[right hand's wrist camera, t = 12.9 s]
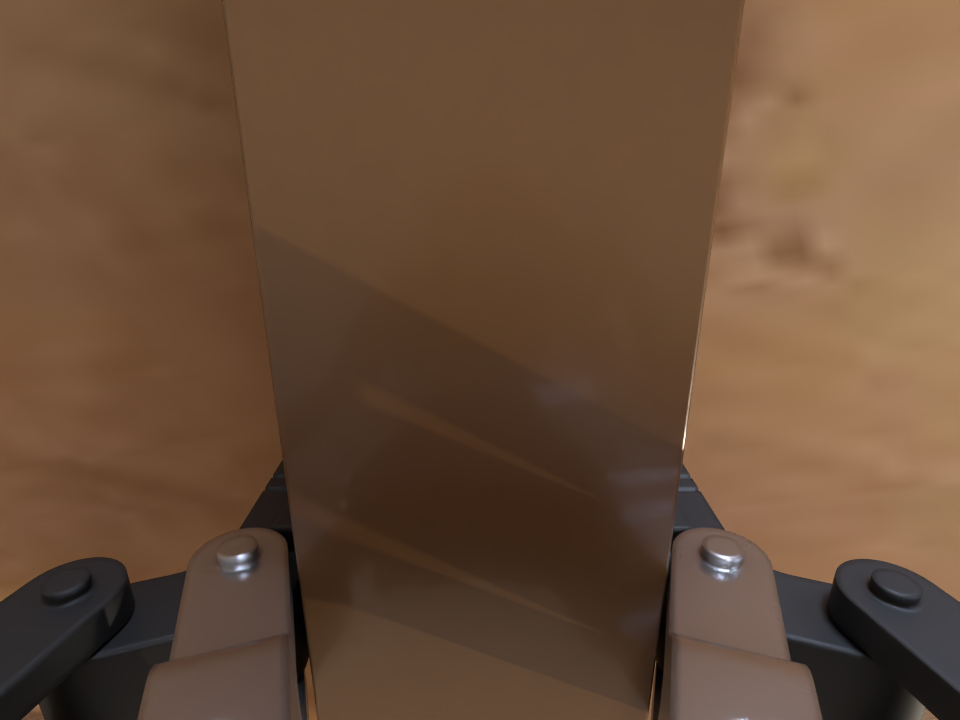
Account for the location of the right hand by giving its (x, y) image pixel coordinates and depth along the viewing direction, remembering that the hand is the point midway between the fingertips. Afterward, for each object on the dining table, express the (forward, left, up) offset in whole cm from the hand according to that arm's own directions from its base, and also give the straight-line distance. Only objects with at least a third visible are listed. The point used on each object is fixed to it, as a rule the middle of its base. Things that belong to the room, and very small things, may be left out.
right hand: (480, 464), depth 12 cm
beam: (-3, -27, -2) cm, 27 cm away
